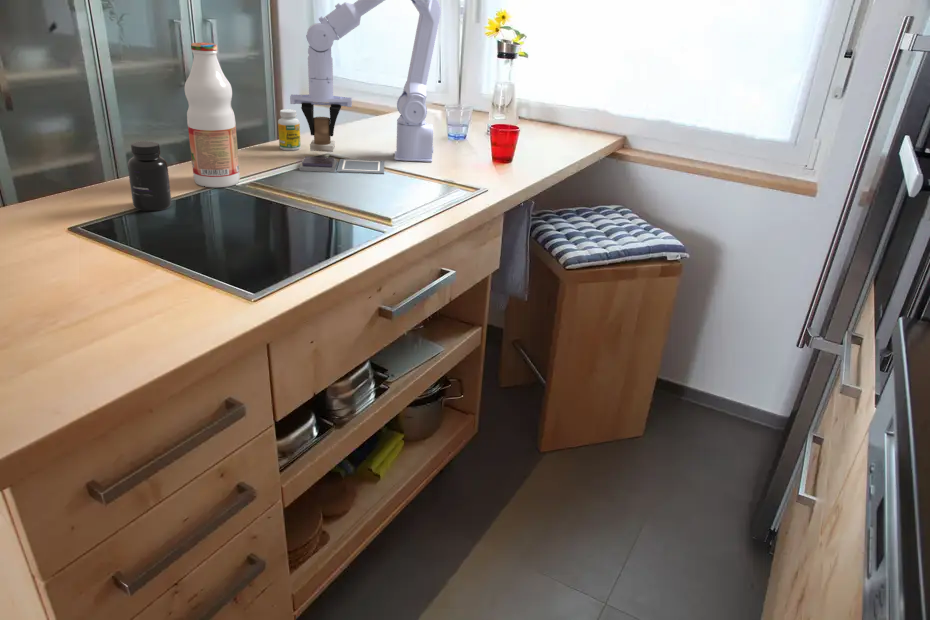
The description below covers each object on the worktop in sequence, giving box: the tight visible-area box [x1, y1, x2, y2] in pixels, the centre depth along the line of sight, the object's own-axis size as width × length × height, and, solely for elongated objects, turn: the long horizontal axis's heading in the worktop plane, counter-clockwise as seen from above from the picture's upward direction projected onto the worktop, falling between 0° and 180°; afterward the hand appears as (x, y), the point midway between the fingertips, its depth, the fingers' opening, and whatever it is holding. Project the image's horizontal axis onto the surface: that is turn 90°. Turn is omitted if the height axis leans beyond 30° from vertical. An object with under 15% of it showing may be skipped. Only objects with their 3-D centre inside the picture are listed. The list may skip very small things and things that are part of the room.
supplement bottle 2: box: [277, 108, 301, 151], centre depth 175 cm, size 5×5×10 cm
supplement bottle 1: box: [127, 140, 172, 212], centre depth 128 cm, size 7×7×12 cm
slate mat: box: [336, 158, 385, 175], centre depth 166 cm, size 11×11×1 cm
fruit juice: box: [184, 42, 241, 188], centre depth 141 cm, size 9×9×28 cm
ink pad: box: [299, 156, 338, 173], centre depth 163 cm, size 8×7×2 cm
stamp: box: [309, 116, 336, 153], centre depth 169 cm, size 6×6×8 cm
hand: (322, 135), depth 169 cm, fingers closed on stamp, 4 cm apart
